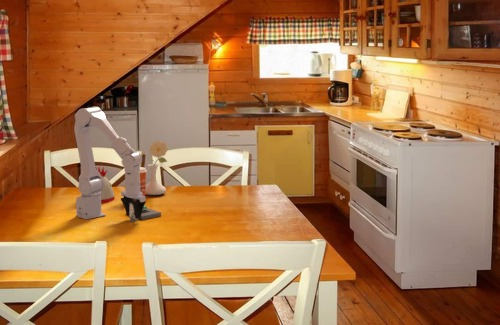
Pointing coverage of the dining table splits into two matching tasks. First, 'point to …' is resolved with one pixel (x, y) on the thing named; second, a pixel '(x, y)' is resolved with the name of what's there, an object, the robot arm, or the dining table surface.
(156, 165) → the flower in vase
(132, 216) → the battery cell
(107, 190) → the kitchen timer
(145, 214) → the block
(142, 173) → the paper cup
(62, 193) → the dining table surface
